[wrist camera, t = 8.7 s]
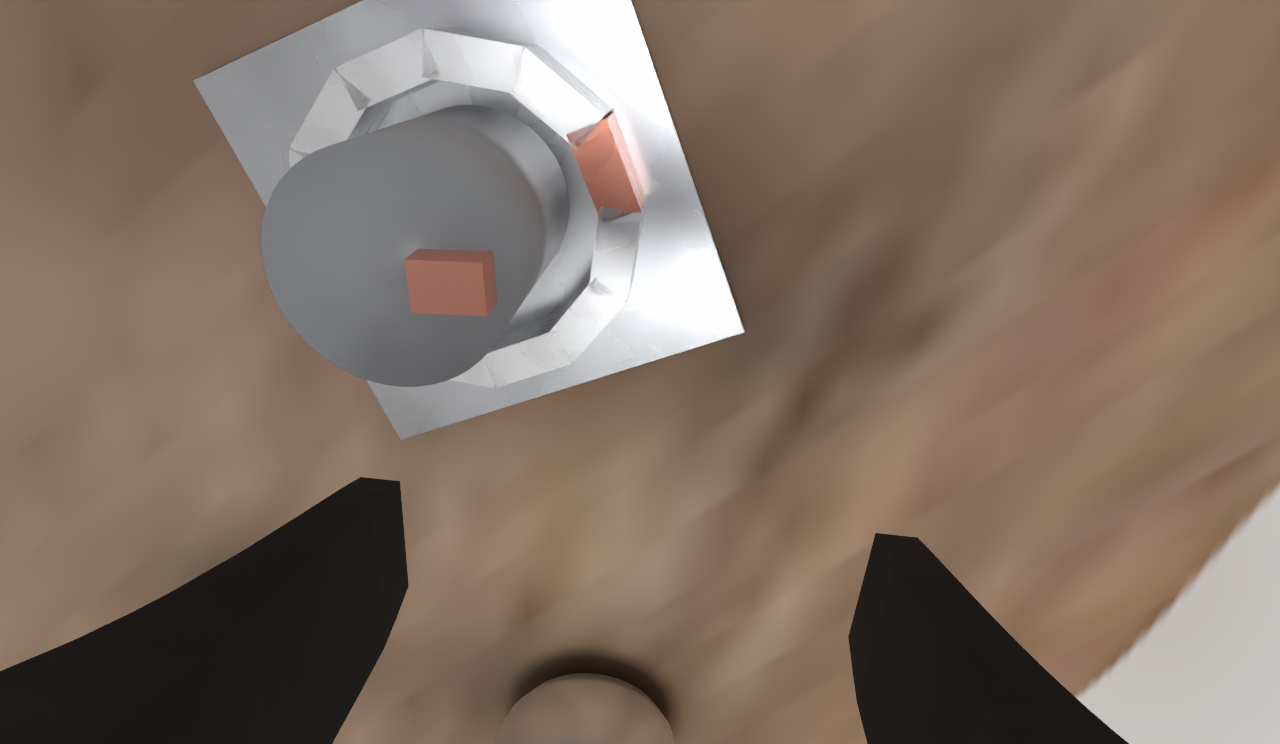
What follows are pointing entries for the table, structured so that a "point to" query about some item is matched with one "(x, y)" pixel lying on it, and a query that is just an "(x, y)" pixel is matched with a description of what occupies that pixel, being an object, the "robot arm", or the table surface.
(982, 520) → the table surface
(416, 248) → the grey cylinder
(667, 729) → the plastic bottle
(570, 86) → the duct collar
